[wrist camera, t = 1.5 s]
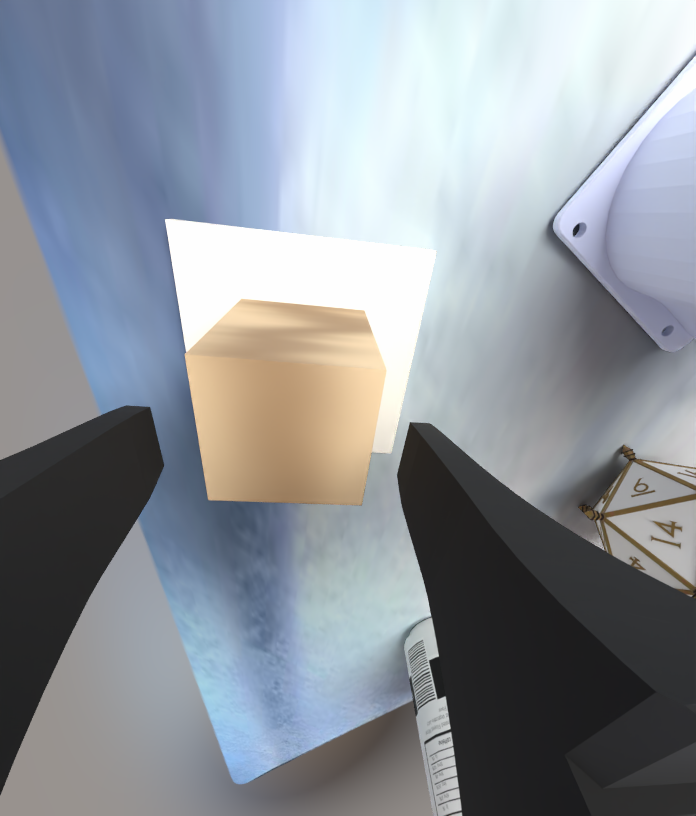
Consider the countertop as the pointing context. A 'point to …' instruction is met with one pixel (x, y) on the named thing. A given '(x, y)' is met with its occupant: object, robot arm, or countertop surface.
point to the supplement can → (432, 719)
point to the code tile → (306, 289)
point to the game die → (651, 520)
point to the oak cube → (286, 403)
